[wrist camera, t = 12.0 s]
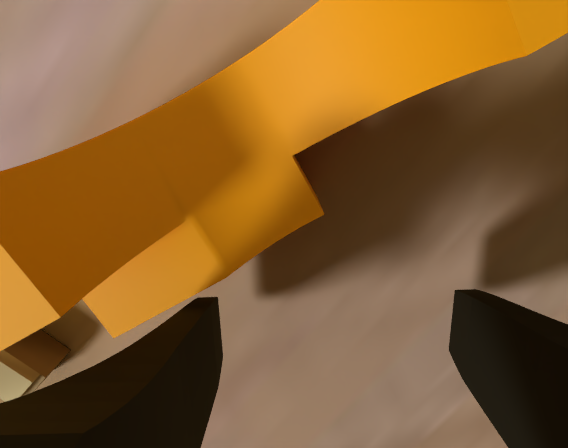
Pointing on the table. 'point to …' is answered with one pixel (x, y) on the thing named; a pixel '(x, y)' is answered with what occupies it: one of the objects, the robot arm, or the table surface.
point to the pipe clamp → (230, 157)
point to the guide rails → (28, 364)
